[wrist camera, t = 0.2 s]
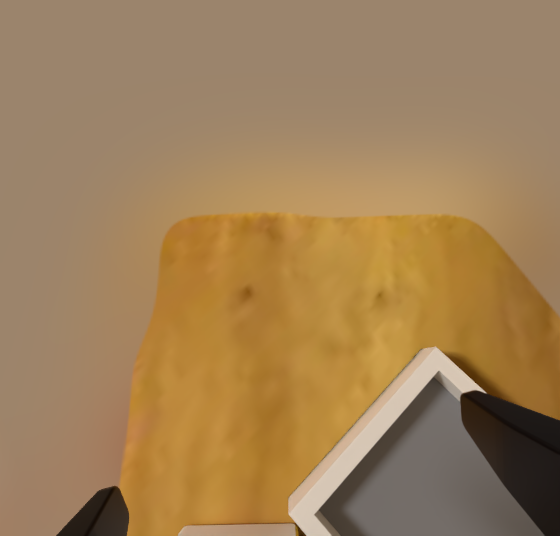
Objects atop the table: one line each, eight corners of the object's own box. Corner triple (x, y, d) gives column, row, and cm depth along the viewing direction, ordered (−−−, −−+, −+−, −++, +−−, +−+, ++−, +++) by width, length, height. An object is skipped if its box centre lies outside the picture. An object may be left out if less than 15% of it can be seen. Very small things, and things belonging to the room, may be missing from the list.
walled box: (588, 505, 21) (628, 523, 18) (457, 698, 18) (483, 748, 16) (421, 349, 24) (435, 346, 21) (288, 497, 21) (288, 514, 19)
